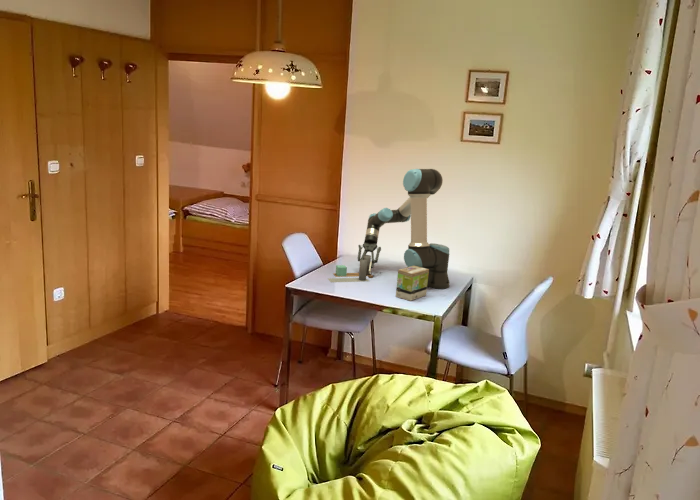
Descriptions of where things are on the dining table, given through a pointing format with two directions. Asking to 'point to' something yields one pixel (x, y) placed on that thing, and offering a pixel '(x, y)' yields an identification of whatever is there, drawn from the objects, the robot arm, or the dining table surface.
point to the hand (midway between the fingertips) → (365, 271)
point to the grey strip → (361, 278)
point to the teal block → (341, 270)
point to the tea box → (412, 282)
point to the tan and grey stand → (366, 257)
